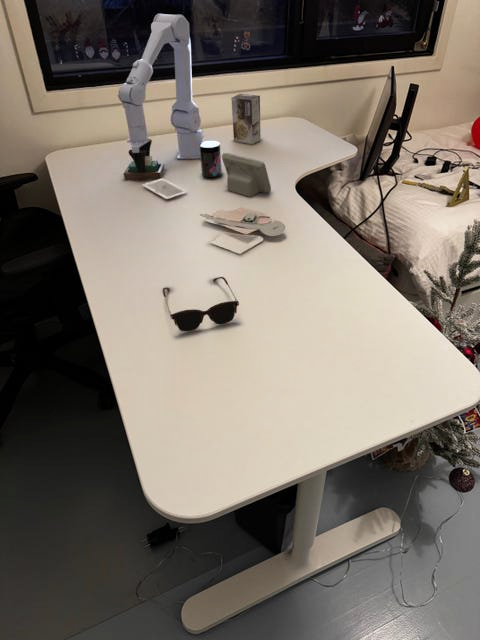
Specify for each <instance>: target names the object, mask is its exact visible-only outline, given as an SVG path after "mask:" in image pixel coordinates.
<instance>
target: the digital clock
mask: <svg viewBox="0 0 480 640" xmlns="http://www.w3.org/2000/svg"><path fill="white" fill-rule="evenodd" d="M221 161H222V163H223V166H224V168H225V172H226V175H227V177H226V181H227V183H226V184H227V191H229V192H233V193H235V194H239V195H242V196H245V197H249V198H251V197H253V196H254V195H256V194H258V193H260V192H261V193H265V194H268V193H270V192H271V191H272V187H271V182H270V178H269V174H268V170H267V166H266V164H265V162H264V161H263V160H260V159H256V158H252V157H247V156H243V155H239V154H235V153H232V152H223V153H222V154H221Z"/></svg>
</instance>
